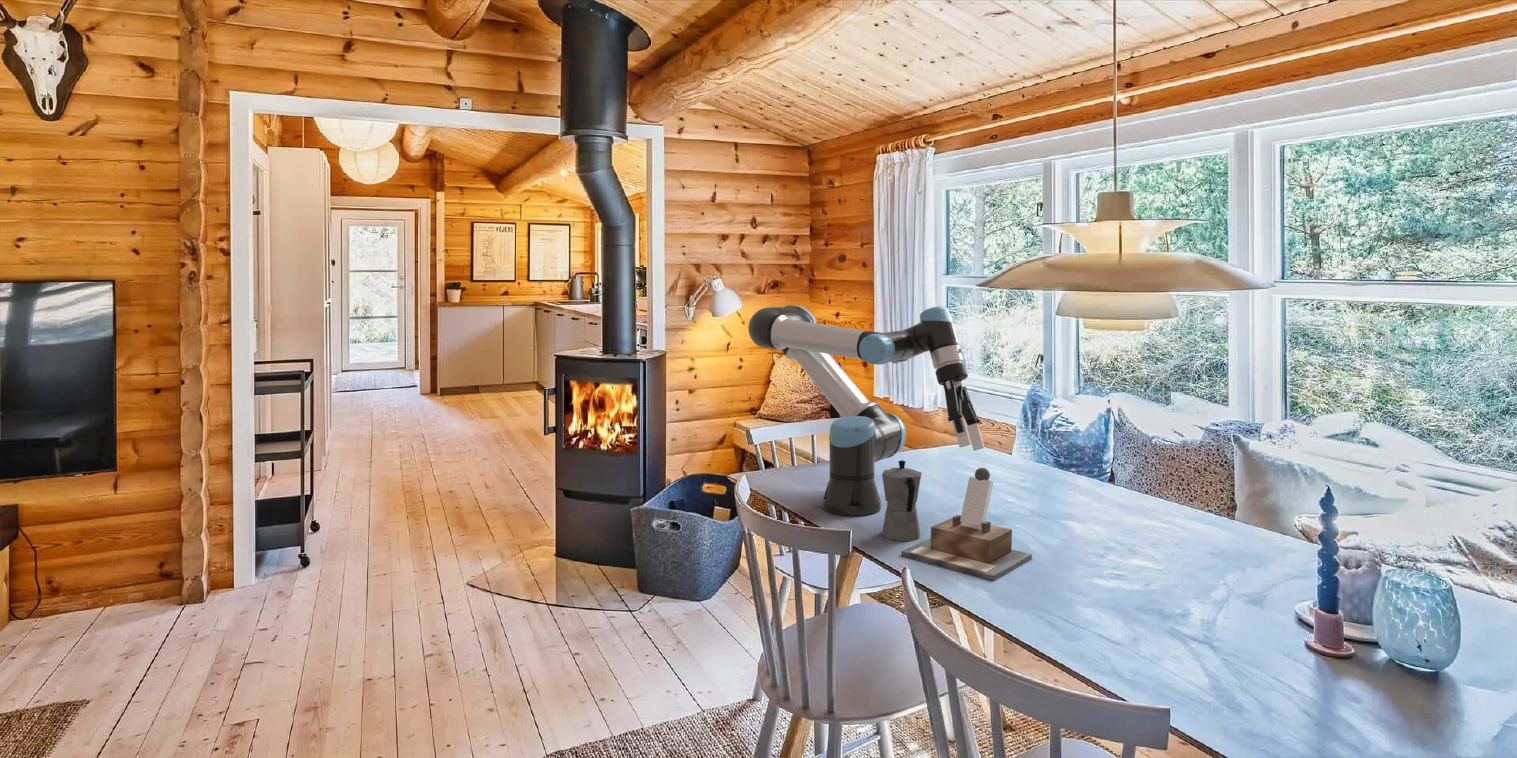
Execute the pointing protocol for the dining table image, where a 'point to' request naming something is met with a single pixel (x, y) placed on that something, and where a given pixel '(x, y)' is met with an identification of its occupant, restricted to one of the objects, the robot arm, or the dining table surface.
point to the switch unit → (969, 549)
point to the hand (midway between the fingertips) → (972, 448)
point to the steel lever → (977, 498)
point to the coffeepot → (901, 503)
